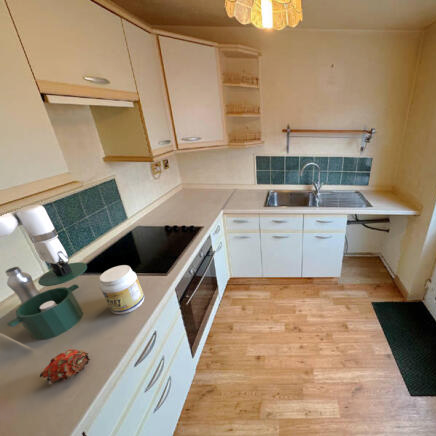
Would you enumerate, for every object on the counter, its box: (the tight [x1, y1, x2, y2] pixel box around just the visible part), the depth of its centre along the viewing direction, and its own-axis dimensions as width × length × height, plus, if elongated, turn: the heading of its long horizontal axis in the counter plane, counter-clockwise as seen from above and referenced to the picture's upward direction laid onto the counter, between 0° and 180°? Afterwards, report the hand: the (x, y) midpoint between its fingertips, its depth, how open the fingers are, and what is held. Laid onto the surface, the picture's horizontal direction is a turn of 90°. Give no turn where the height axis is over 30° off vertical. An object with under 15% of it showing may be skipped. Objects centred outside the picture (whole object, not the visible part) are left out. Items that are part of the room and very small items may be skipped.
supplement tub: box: [99, 264, 145, 315], centre depth 94 cm, size 12×12×17 cm
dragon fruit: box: [39, 349, 91, 386], centre depth 71 cm, size 8×8×12 cm
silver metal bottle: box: [4, 266, 41, 305], centre depth 93 cm, size 6×7×20 cm
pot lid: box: [37, 261, 88, 287], centre depth 98 cm, size 16×16×7 cm
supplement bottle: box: [40, 301, 57, 312], centre depth 87 cm, size 5×5×10 cm
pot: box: [6, 283, 84, 341], centre depth 87 cm, size 15×20×12 cm
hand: (63, 272), depth 98 cm, fingers closed on pot lid, 4 cm apart
